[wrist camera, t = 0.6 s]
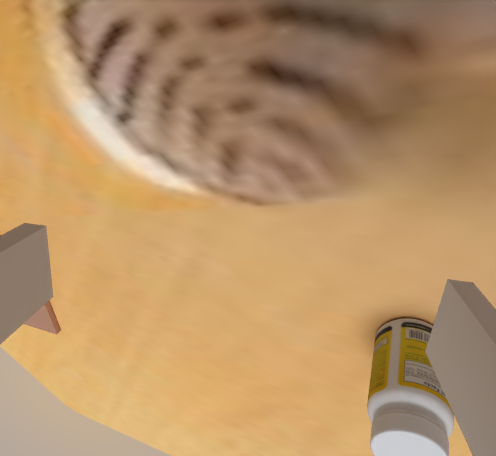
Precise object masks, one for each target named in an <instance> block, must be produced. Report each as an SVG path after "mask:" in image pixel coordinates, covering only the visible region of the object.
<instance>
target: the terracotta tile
mask: <svg viewBox="0 0 496 456" xmlns="http://www.w3.org/2000/svg"><path fill="white" fill-rule="evenodd" d="M23 324H26V325H29V326H32V327H35V328H38V329H42V330H45V331H48V332H51V333H54V334H58V333H59V332H60V331H61V330H60V327H59V325H58V322H57V320H56V317H55V314H54V312H53V309H52V307H51V304H50V302H49V301H48V302H47V303H46V304H45V305H44V306H42V307H41V308H40V309H39V310H38V311H37V312H36V313H35V314H34V315H32V316H31V317H30V318H29V319H28V320H27V321H26V322H25V323H23Z"/></svg>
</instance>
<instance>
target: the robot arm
mask: <svg viewBox="0 0 496 456" xmlns="http://www.w3.org/2000/svg"><path fill="white" fill-rule="evenodd" d="M52 297H53V289H52V279H51V269H50V259H49V250H48V240H47V230H46V226H43V225H36V224H28V223H24V224H22V225H20V226H18V227H16V228H14V229H12V230H10V231H9V232H7V233H5V234H3V235H1V236H0V344H1V343H2V342H3V341H5V340H6V339H7V338H8V337H9V336H10V335H11V334H12V333H13V332H15V331H16V330H17V329H18V328H19V327H20V326H21V325H22V324H23V323H25V322H26V321H27V320H28V319H29V318H30V317H31V316H32V315H34V314H35V313H36V312H37V311H38V310H39V309H40V308H41V307H42V306H44V305H45V304H46V303H47V302H48V301H49V300H50V299H51V298H52ZM425 352H426V354H427V357H428V359H429V361H430V363H431V365H432V368H433V370H434V372H435V374H436V376H437V378H438V381H439V383H440V385H441V387H442V389H443V392H444V394H445V396H446V398H447V400H448V402H449V405H450V407H451V409H452V411H453V413H454V416H455V418H456V420H457V422H458V424H459V426H460V429H461V431H462V433H463V435H464V437H465V440H466V442H467V444H468V446H469V448H470V450H471V453H472V455H473V456H496V309H495V308H494V307H493V306H492V305H491V303H490V302H489V301H488V300H487V299H486V297H485V296H484V295H483V294H482V293H481V291H480V290H479V289H478V288H477V287H476V286H475V284H474V283H472V282H464V281H457V280H449V279H447V283H446V286H445V289H444V292H443V296H442V299H441V302H440V305H439V309H438V312H437V315H436V318H435V321H434V325H433V328H432V331H431V334H430V338H429V341H428V344H427V347H426V350H425Z"/></svg>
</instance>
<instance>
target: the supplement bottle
mask: <svg viewBox="0 0 496 456" xmlns="http://www.w3.org/2000/svg"><path fill="white" fill-rule="evenodd" d="M432 328H433V326H432V325H431V324H429V323H426V322H424V321H421V320H417V319H409V318H404V319H397V320H393V321H390V322H388V323H386V324H384V325H383V326H382V327H381V328H380V329H379V330H378V332H377V334H376V337H375V345H374V353H373V361H372V370H371V378H370V387H369V395H368V404H367V409H368V415H369V418H370V420H371V422H372V429H371V441H370V445H371V450H372V452H373V454H374V456H449V441H448V437H449V435H450V434H451V432H452V430H453V426H454V413H453V411H452V409H451V407H450V405H449V402H448V400H447V398H446V396H445V394H444V392H443V389H442V387H441V385H440V383H439V381H438V378H437V376H436V374H435V372H434V370H433V368H432V365H431V363H430V361H429V359H428V357H427V354H426V352H425V350H426V347H427V344H428V341H429V338H430V334H431V331H432Z"/></svg>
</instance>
